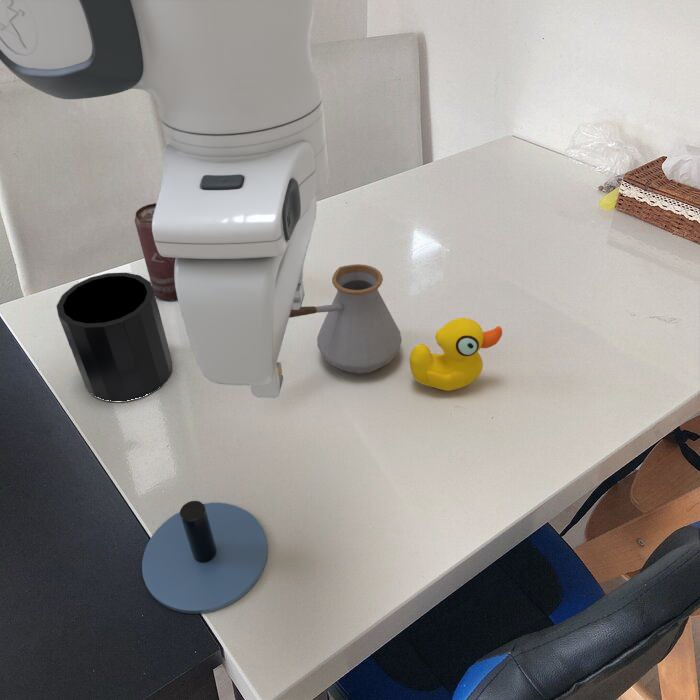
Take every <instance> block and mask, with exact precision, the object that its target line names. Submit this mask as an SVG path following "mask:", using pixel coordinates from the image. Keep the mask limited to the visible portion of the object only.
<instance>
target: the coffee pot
mask: <svg viewBox="0 0 700 700" xmlns="http://www.w3.org/2000/svg"><path fill="white" fill-rule="evenodd" d="M383 281H384V278H383V274H382V273H381V271H380V270H379V269H377V268H376V267H373V266H371V265H367V264H362V263H361V264H360V263H359V264H358V263H357V264H348V265H342V266H339V267H338V268H337V269H336V270H335V271H334V273H333V275H332V278H331V283H332V285H333V287H334V288H335V289H336V290H337V292H336V294H335V296H334V299H333V301H332V303H331V304H326V305H319V306H318V305H317V306H313V305H312V306H310V305H309V306H301V308H300V309H298V310H292V309H291V312H290V315H289V319H291V318H296V317H303V316H307V315H313V314H317V313H327V314H326V316H325V318H324V320H323V323H322V325H321V327H320V329H319V330H318V331H319V332H318V334H317V338H316V343H317V344H316V347H317V348H318V350H319V352H320V354H321V356H322V357H323V359H325V361H327V362H328V364H330V365H332V366H333V367H335V368H336V369H339V370H342V371H344V372H347V373H351V374H357V375H358V374H367V373H373V372H374V371H376V370H379V369H380V368H383V367H384V366H386V365H387V364H389V363H390V362H391V361H392V360H393V359H394V358H395V357H396V355H397V354H398V352H399V351H400V349H401V346H402V341H403V340H402V339H403V338H402V334H401V331H400V329H399V327H398V325H397V324H396V323H397V322H396V321H395V319H394V318H393V315H392V314H391V311H390V310H389V308H388V307H387V305H386V302H385V300H384V299H383V297H382V295H381V293H380V291H379V288H380V287H381V286H382V283H383Z"/></svg>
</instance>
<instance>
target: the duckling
mask: <svg viewBox="0 0 700 700" xmlns="http://www.w3.org/2000/svg"><path fill="white" fill-rule="evenodd" d="M502 336H503V328H502V326H500V325H497V326H496V327H495V328H493V329H491V330H487V331H483V329H482V327H481V325H480V323H479V322H477V321H475V320H473V319H471V318H467V317H458V318H454V319H452V320H450V321H448V322H447V323H445V325H443V326H442V327H441V328H439V329H438V330H437V331H436V332H435V336H434V337H435V341H436V344H437V345H438V346H439V348H440V349H441V350H442V351H443V353H432V352H431V349H430V348H429V346H428V345H427V344H425V343H424V344H423V343H419V344H417V345H415V346H414V347H413V348H412V349H411V351H410V354H409V368H410V372H411V375H412V377H413V378H414V379H415V380H416V381H417V383H419V384H421V385H424V386H427V387H431V388H435V389H439V390H442V391H455V390H458V389H461V388H464V387H466V386H468V385H470V384H471V383H473V382H474V381H475V380H477V379H478V378H479V377H480V375H481V373H482V371H483V369H484V368H483V367H484V362H483V359H482V357H481V355H480V353H479V351H480V350H481V349H489V348H491V347H493V346H495V345H497V344H498V342H500V339H501V338H502Z"/></svg>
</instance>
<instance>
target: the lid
mask: <svg viewBox="0 0 700 700" xmlns="http://www.w3.org/2000/svg"><path fill="white" fill-rule="evenodd" d="M267 557H268V541H267V537H266V534H265V530H264V528H263V527H262V524H261V522H260V521H258V519H257V518H256V517H255V516H254V515H253V514H252V513H250V512H249V511H248V510H246V509H244V508H242V507H239V506H238V505H234V504H231V503H226V502H206V503H203V502H202V501H199V500H190V501H188V502H185V503H184V504H183V505H182V506H181V507H180V510H179V511H178V512H177V513H175V514H174V515H172V516H170V517H169V518H167V519H166V520H165V521H164V522H163V523H162V524H160V526H159V527H158V528H157V529H156V530H155V531H154V533H153V534H152V535H151V537H150V539H149V541H148V542H147V545H146V546H145V549H144V553H143V556H142V561H141V572H142V573H141V574H142V578H143V580H144V584H145V587H146V588H147V590H148V592H149V593H150V595H151V596H152V598H153V599H155V601H156V602H158V603H159V604H160V605H162V606H163V607H165V608H167V609H169V610H171V611H175V612H177V613H182V614H188V615H189V614H190V615H191V614H192V615H193V614H196V615H198V614H207V613H210V612H215V611H218V610H221V609H224V608H226V607H228V606H230V605H232V604H233V603H235V602H237V601H238V600H240V599H241V598H242V597H244V595H246V594H247V593H248V592H249V591H250V590H251V589H252V588H253V587H254V585H255V584H256V583H257V582H258V580H259V578H260V577H261V575H262V573H263V570H264V568H265V566H266V563H267Z"/></svg>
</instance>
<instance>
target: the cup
mask: <svg viewBox="0 0 700 700" xmlns="http://www.w3.org/2000/svg"><path fill="white" fill-rule="evenodd" d="M56 312H57V317H58V319H59V322H60V325H61V326H62V329H63V332H64V335H65V337H66V340H67V342H68V346H69V347H70V350H71V353H72V355H73V359H74V360H75V362H76V367H77V368H78V372H79V373H80V376H81V378H82V382H83V384H84V386H85V388H86V390H87V389H88V390H89V391H90V393H92V394H93V395H94V396H96V397H99V398H101V399H104V400H109V401H110V400H111V401H127V400H131V399H135V398H139V397H143V396H145V395H146V394H149V393H151V392H153V391H155V390H156V391H158V390H159V389H160V388H162V387H163V386H164V385H165V384H166V383H167V382H168V380H169V379H168V378H171V375H172V372H173V365H174V364H173V358H172V354H171V351H170V347H169V343H168V339H167V335H166V332H165V327H164V325H163V320H162V317H161V313H160V309H159V305H158V302H157V298H156V295H155V294H154V290H153V288H152V285H151V281H150V280H148V279H146V278H145V277H144V276H142V275H140V274H134V273H131V272H108V273H102V274H98V275H95V276H91V277H90V276H89V277H88V278H86V279H84V280H82V281H80V282H78V283H76V284H74V285H72V286H71V287H70V288H69V289H67V291H66V292H64V293H63V294H61V296H60V298H59V300H58V302H57V304H56ZM165 382H166V383H165ZM164 383H165V384H164ZM163 384H164V385H163ZM162 385H163V386H162ZM161 386H162V387H161ZM159 387H160V388H159ZM158 388H159V389H158ZM157 389H158V390H157ZM88 390H87V391H88ZM89 391H88V392H89ZM156 391H155V392H156ZM90 393H89V394H90ZM153 393H154V392H153ZM93 395H92V396H93ZM94 396H93V397H94ZM143 398H144V397H143Z"/></svg>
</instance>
